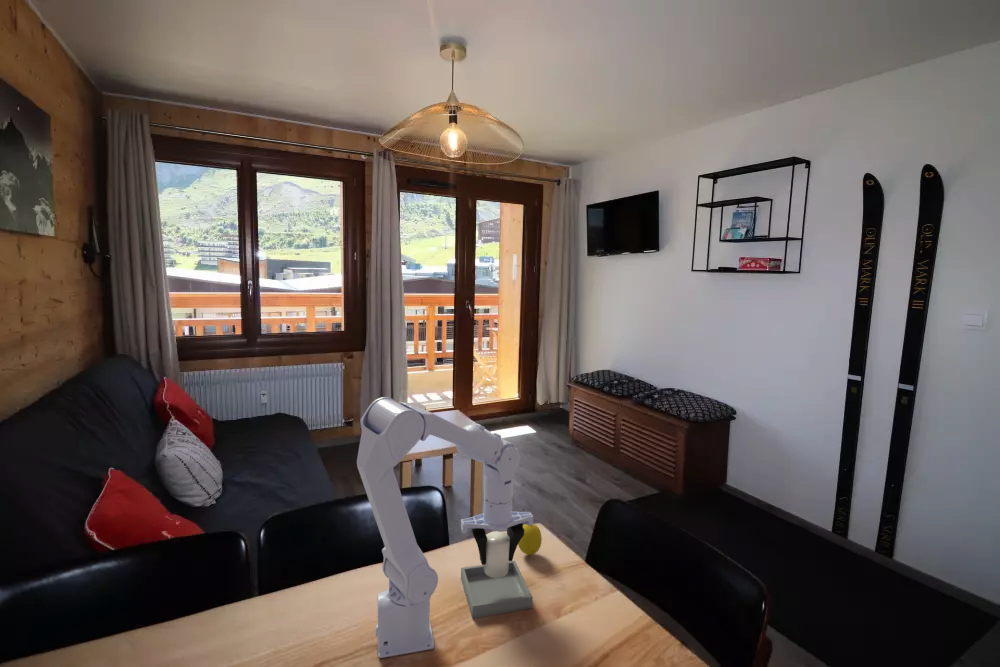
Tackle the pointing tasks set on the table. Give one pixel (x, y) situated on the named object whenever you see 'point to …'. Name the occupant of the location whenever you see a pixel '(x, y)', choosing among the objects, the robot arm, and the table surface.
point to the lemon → (530, 539)
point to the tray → (495, 591)
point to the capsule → (497, 554)
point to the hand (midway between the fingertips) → (496, 560)
